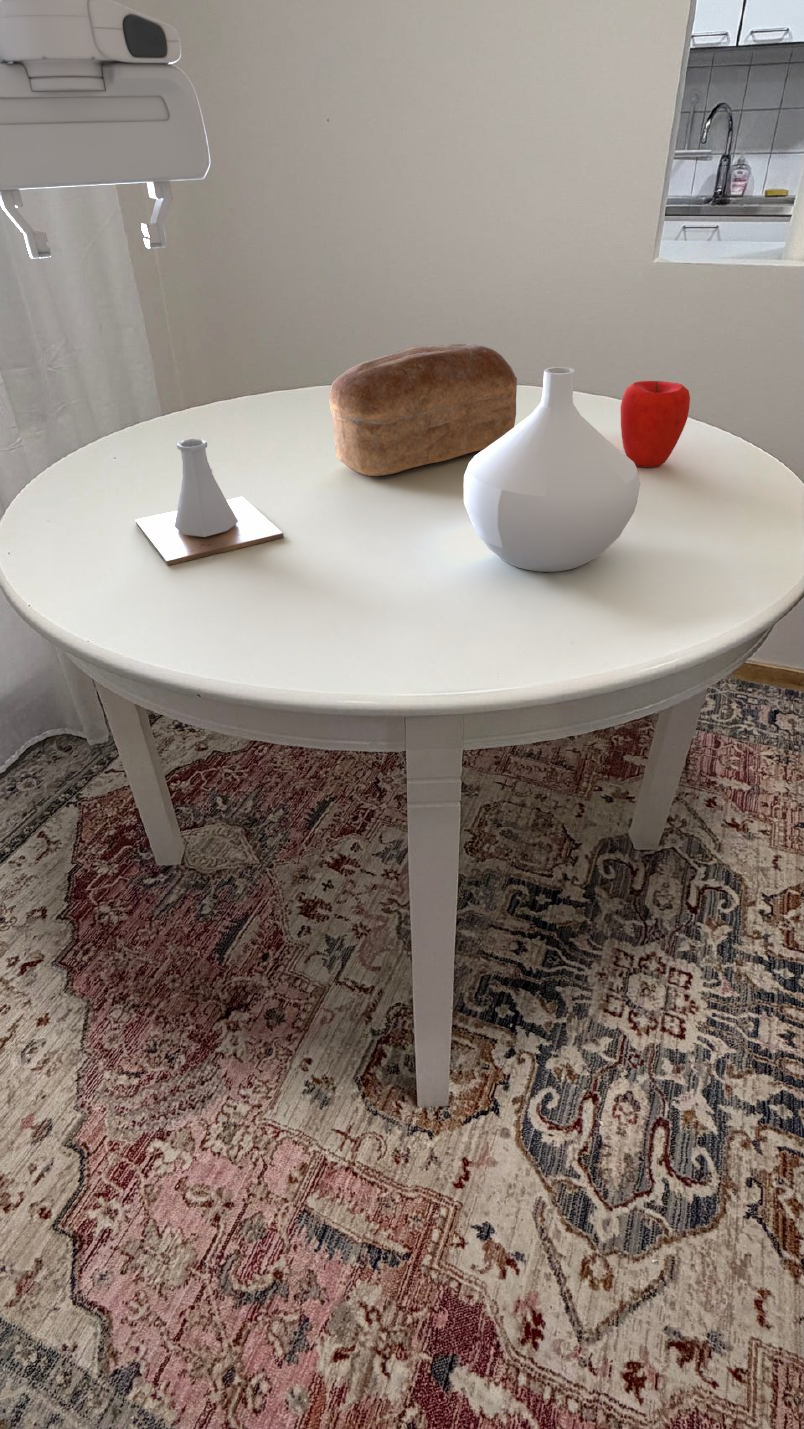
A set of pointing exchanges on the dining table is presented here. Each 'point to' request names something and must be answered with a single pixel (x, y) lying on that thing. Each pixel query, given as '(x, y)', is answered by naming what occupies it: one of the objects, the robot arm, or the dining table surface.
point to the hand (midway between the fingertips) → (100, 252)
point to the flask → (200, 495)
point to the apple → (653, 420)
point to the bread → (421, 407)
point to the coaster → (190, 547)
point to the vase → (551, 486)
